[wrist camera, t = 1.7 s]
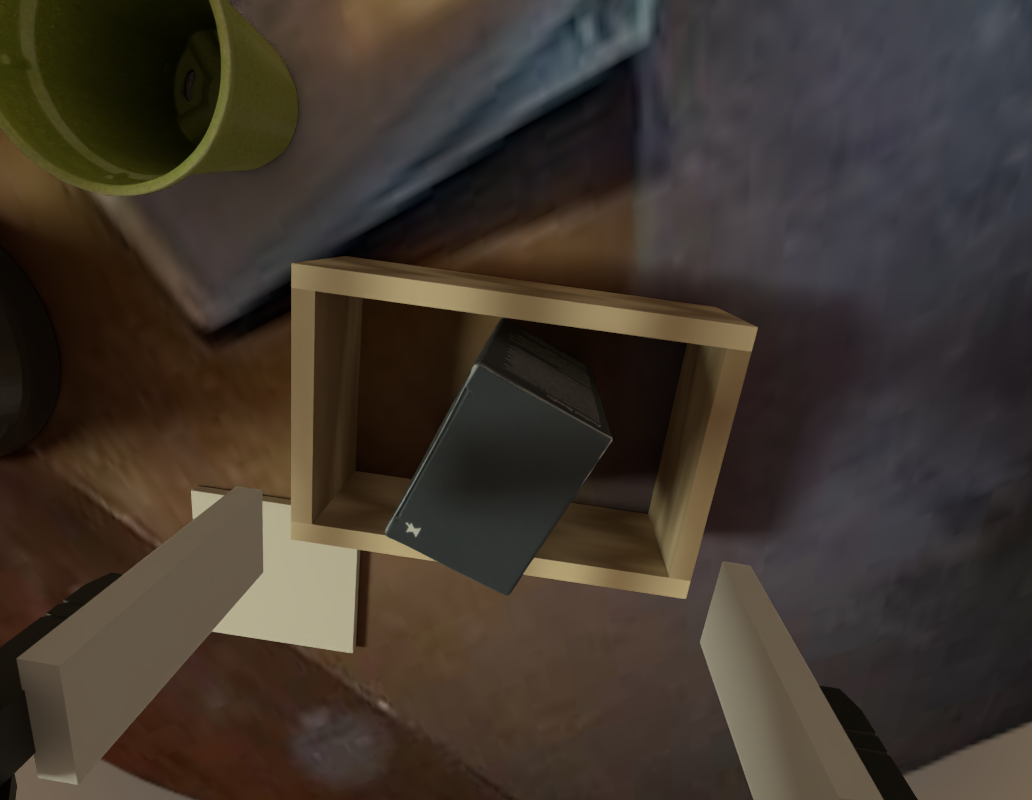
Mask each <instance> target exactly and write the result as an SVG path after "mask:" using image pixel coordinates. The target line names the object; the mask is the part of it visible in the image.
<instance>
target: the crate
mask: <svg viewBox="0 0 1032 800" xmlns="http://www.w3.org/2000/svg"><path fill="white" fill-rule="evenodd" d="M363 298H368V299H375V300H382V301H390V302H397V303H404V304H411V305H418V306H426V307H433V308H440V309H447V310H454V311H462V312H469V313H476V314H483V315H490V316H498V317H505V318H512V319H519V320H526V321H534V322H541V323H548V324H555V325H562V326H570V327H577V328H584V329H591V330H598V331H606V332H613V333H620V334H627V335H634V336H642V337H649V338H656V339H663V340H670V341H678V342H685V343H687V346H686V350H685V354H684V359H683V363H682V368H681V372H680V376H679V381H678V385H677V390H676V394H675V398H674V403H673V407H672V412H671V416H670V420H669V425H668V429H667V433H666V438H665V442H664V447H663V451H662V455H661V460H660V464H659V469H658V473H657V477H656V482H655V486H654V490H653V495H652V499H651V504H650V508H649V512H648V514H645V513H638V512H631V511H625V510H618V509H611V508H604V507H598V506H591V505H584V504H577V503H570V504H569V506H568V508H567V509H566V511H565V512H564V514H563V515H562V517H561V518H560V519H559V521H558V522H557V524H556V525H555V527H554V528H553V530H552V531H551V533H550V534H549V536H548V537H547V539H546V541H545V542H544V544H543V545H542V547H541V548H540V549H539V551H538V552H537V554H536V555H535V557H534V559H533V560H532V562H531V563H530V565H529V566H528V567H527V569H526V570H525V572H524V574H523V575H530V576H536V577H543V578H550V579H556V580H563V581H570V582H576V583H583V584H589V585H596V586H603V587H609V588H616V589H623V590H629V591H636V592H642V593H649V594H656V595H662V596H669V597H676V598H682V599H686V596H687V593H688V589H689V585H690V581H691V578H692V574H693V570H694V566H695V563H696V559H697V555H698V551H699V548H700V544H701V540H702V536H703V533H704V529H705V525H706V521H707V518H708V514H709V510H710V506H711V502H712V499H713V495H714V491H715V487H716V484H717V480H718V476H719V472H720V469H721V465H722V461H723V457H724V454H725V450H726V446H727V442H728V439H729V435H730V431H731V427H732V424H733V420H734V416H735V412H736V409H737V405H738V401H739V397H740V394H741V390H742V386H743V382H744V378H745V375H746V371H747V367H748V363H749V360H750V356H751V352H752V348H753V345H754V341H755V337H756V333H757V330H758V327H756V326H754V325H752V324H750V323H748V322H746V321H744V320H742V319H740V318H738V317H736V316H734V315H731V314H729V313H727V312H725V311H723V310H721V309H719V308H717V307H713V306H706V305H698V304H691V303H684V302H676V301H669V300H662V299H655V298H647V297H640V296H633V295H625V294H618V293H611V292H604V291H596V290H589V289H582V288H574V287H567V286H560V285H552V284H545V283H538V282H531V281H523V280H516V279H509V278H501V277H494V276H487V275H479V274H472V273H465V272H458V271H450V270H443V269H436V268H428V267H421V266H414V265H407V264H399V263H392V262H385V261H377V260H370V259H363V258H355V257H348V256H342V257H334V258H327V259H319V260H311V261H304V262H296V263H291V540H298V541H304V542H311V543H318V544H324V545H331V546H337V547H344V548H351V549H357V550H364V551H371V552H377V553H384V554H391V555H397V556H404V557H410V558H417V559H424V560H430V561H435V560H433V559H431V558H429V557H427V556H426V555H424V554H422V553H420V552H418V551H416V550H414V549H412V548H410V547H408V546H406V545H404V544H402V543H399V542H397V541H395V540H393V539H390V538H388V537H387V536H386V533H385V530H386V527H387V525H388V523H389V521H390V519H391V517H392V515H393V513H394V511H395V509H396V508H397V506H398V504H399V502H400V500H401V499H402V496H403V495H404V493H405V491H406V489H407V487H408V485H409V484H410V482H411V480H412V479H407V478H400V477H394V476H387V475H380V474H373V473H366V472H360V471H355V470H356V446H357V422H358V397H359V373H360V349H361V325H362V301H363Z"/></svg>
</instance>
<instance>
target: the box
mask: <svg viewBox="0 0 1032 800" xmlns="http://www.w3.org/2000/svg"><path fill="white" fill-rule="evenodd" d="M612 440H613V438H612V435H611V433H610V430H609V426H608V424H607V420H606V416H605V413H604V410H603V406H602V403H601V399H600V396H599V392H598V389H597V385H596V382H595V378H594V375H593V372H592V369H591V368H590V367H589V366H587V365H586V364H584V363H582V362H580V361H578V360H577V359H575V358H574V357H572V356H570V355H568V354H567V353H565V352H563V351H561V350H560V349H558V348H556V347H554V346H553V345H551V344H549V343H548V342H546V341H544V340H542V339H541V338H539V337H537V336H535V335H534V334H532V333H530V332H529V331H527V330H525V329H523V328H522V327H520V326H518V325H517V324H515V323H513V322H511V321H510V320H508V319H506V318H502V319H501V320H500V321H499V322H498V324H497V326H496V327H495V329H494V331H493V332H492V334H491V336H490V337H489V339H488V341H487V342H486V344H485V346H484V348H483V349H482V351H481V353H480V354H479V356H478V358H477V360H476V362H475V363H474V365H473V367H472V369H471V370H470V372H469V374H468V376H467V378H466V380H465V381H464V383H463V385H462V387H461V389H460V390H459V392H458V394H457V396H456V398H455V400H454V402H453V403H452V405H451V407H450V409H449V411H448V412H447V414H446V416H445V418H444V420H443V422H442V424H441V426H440V427H439V429H438V431H437V433H436V435H435V437H434V439H433V441H432V443H431V444H430V446H429V448H428V450H427V452H426V454H425V455H424V457H423V459H422V461H421V463H420V465H419V467H418V469H417V470H416V472H415V474H414V476H413V478H412V480H411V482H410V484H409V485H408V487H407V489H406V491H405V493H404V495H403V496H402V499H401V500H400V502H399V504H398V506H397V508H396V509H395V511H394V513H393V515H392V517H391V519H390V521H389V523H388V525H387V527H386V530H385V533H386V536H387V537H388V538H390V539H393V540H395V541H397V542H399V543H402V544H404V545H406V546H408V547H410V548H412V549H414V550H416V551H418V552H420V553H422V554H424V555H426V556H427V557H429V558H431V559H433V560H435V561H437V562H439V563H441V564H443V565H445V566H447V567H449V568H451V569H453V570H455V571H457V572H458V573H460V574H462V575H464V576H466V577H468V578H470V579H472V580H474V581H476V582H478V583H480V584H482V585H484V586H487V587H489V588H491V589H493V590H495V591H497V592H499V593H502V594H504V595H507V596H508V595H509V594H510V593H511V592H512V590H513V589H514V587H515V586H516V584H517V583H518V581H519V580H520V578H521V577H522V575H523V574H524V572H525V570H526V569H527V567H528V566H529V565H530V563H531V562H532V560H533V559H534V557H535V555H536V554H537V552H538V551H539V549H540V548H541V547H542V545H543V544H544V542H545V541H546V539H547V537H548V536H549V534H550V533H551V531H552V530H553V528H554V527H555V525H556V524H557V522H558V521H559V519H560V518H561V517H562V515H563V514H564V512H565V511H566V509H567V508H568V506H569V504H570V503H571V501H572V500H573V498H574V497H575V495H576V494H577V493H578V491H579V490H580V488H581V486H582V485H583V483H584V482H585V480H586V479H587V477H588V476H589V474H590V473H591V471H592V470H593V469H594V467H595V465H596V464H597V462H598V461H599V459H600V458H601V456H602V455H603V454H604V452H605V451H606V449H607V448H608V446H609V445H610V443H611V442H612Z"/></svg>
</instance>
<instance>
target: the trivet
mask: <svg viewBox="0 0 1032 800" xmlns="http://www.w3.org/2000/svg"><path fill="white" fill-rule="evenodd" d="M228 492H229V490H223V489H216V488H209V487H202V486H197V487H195V488H194V489H192V490H191V496H192V513H193V520H194V519H195V518H196V517H198V516H199V515H200V514H201V513H203V512H204V511H205V510H206V509H208V508H209V507H210V506H212V505H213V504H214V503H215V502H217V501H218V500H219V499H220V498H222V497H223V496H224V495H226V494H227V493H228ZM262 512H263V573H262V574H261V576H260V577H259V578H258V579H257V580H256V581H255V582H254V584H253V585H252V586H251V587H250V588H249V589H248V590H247V592H246V593H245V594H244V595H243V596H242V597H241V598H240V600H239V601H238V602H237V603H236V604H235V605H234V606H233V608H232V609H231V610H230V611H229V612H228V613H227V614H226V616H225V617H224V618H223V619H222V620H221V621H220V622H219V624H218V625H217V626H216V627H215V628H214V629H213V631H212V632H219V633H225V634H232V635H238V636H244V637H251V638H257V639H264V640H270V641H276V642H283V643H289V644H296V645H302V646H309V647H315V648H321V649H328V650H334V651H341V652H347V653H353V651H354V649H355V647H356V632H357V611H358V589H359V568H360V550H357V549H351V548H344V547H337V546H331V545H324V544H318V543H311V542H304V541H298V540H291V500H290V499H283V498H276V497H270V496H263V495H262Z"/></svg>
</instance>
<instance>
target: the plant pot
mask: <svg viewBox="0 0 1032 800" xmlns="http://www.w3.org/2000/svg"><path fill="white" fill-rule="evenodd" d="M191 69H192V70H194V73H195V75H194V81H193V84H192V98H191V100H190V101H188V100H187V99H186V97H185V91H184V85H185V79H186V76H187V74H188V72H189V71H190V70H191ZM297 119H298V98H297V92H296V88H295V84H294V82H293V80H292V78H291V75H290V73H289V71H288V69H287V67H286V65H285V63H284V61H283V60H282V58H281V57H280V55H279V54H278V52H277V51H276V50H275V49H274V48H273V47H272V46H271V45H270V44H269V43H268V42H267V41H266V40H265V39H264V38H263V37H262V36H261V35H260V34H259V33H258V32H257V31H256V30H255V29H254V28H253V27H252V26H251V24H250V23H249V22H248V21H247V20H246V19H245V18H244V17H243V16H242V15H241V14H240V13H239V12H238V11H237V10H236V9H235V8H234V7H233V6H232V5H231V4H230V3H229V2H228V1H227V0H0V128H1V129H2V130H3V132H4V133H5V134H6V135H7V137H8V138H9V139H10V140H11V141H12V142H13V143H14V144H15V145H16V147H17V148H18V149H19V150H20V151H21V152H22V153H23V154H25V155H26V156H27V157H28V158H29V159H31V160H32V161H33V162H34V163H35V164H37V165H38V166H39V167H41V168H42V169H44V170H45V171H46V172H48V173H49V174H51V175H52V176H54V177H56V178H58V179H59V180H61V181H63V182H65V183H67V184H70V185H73V186H75V187H78V188H80V189H83V190H86V191H90V192H93V193H97V194H102V195H109V196H136V195H144V194H150V193H153V192H157V191H160V190H163V189H165V188H168V187H170V186H172V185H174V184H176V183H178V182H179V181H181V180H183V179H184V178H186V177H187V176H188V175H190V174H201V173H214V172H229V171H242V170H253V169H257V168H260V167H262V166H264V165H265V164H267V163H269V162H270V161H272V160H273V159H275V158H276V157H278V156H279V155H280V154H282V153H283V152H284V150H285V149H286V148H287V146H288V145H289V143H290V141H291V139H292V137H293V134H294V132H295V128H296V124H297Z"/></svg>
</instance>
